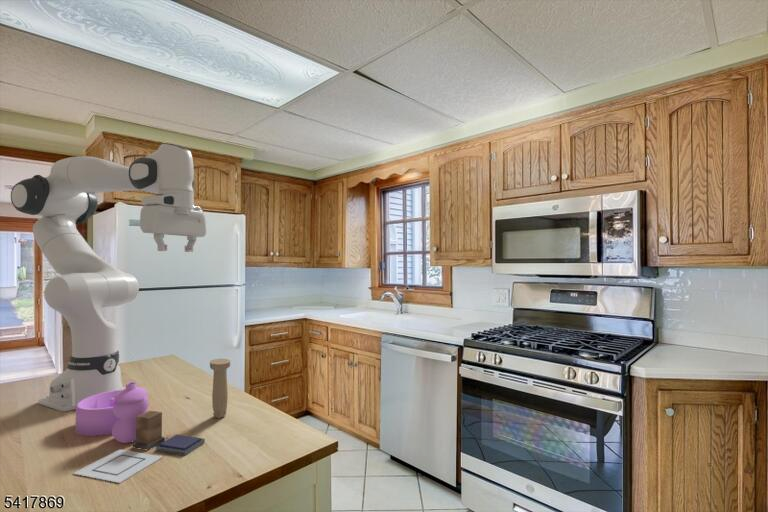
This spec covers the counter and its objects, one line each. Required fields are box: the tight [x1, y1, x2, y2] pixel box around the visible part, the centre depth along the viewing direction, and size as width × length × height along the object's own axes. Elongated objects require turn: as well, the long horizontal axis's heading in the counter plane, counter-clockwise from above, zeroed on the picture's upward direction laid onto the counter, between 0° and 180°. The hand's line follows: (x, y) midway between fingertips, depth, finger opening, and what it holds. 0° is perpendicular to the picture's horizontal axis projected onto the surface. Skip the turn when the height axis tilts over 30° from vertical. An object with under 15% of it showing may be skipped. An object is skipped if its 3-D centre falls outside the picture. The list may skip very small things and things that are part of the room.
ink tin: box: [155, 434, 206, 457], centre depth 88 cm, size 8×6×1 cm
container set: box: [75, 381, 150, 444], centre depth 98 cm, size 25×15×13 cm, turn 51°
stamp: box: [132, 410, 166, 451], centre depth 89 cm, size 4×4×7 cm
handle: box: [209, 358, 231, 419], centre depth 105 cm, size 5×6×15 cm
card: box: [72, 449, 163, 484], centre depth 80 cm, size 12×10×1 cm
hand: (176, 251), depth 108 cm, fingers open, 8 cm apart
